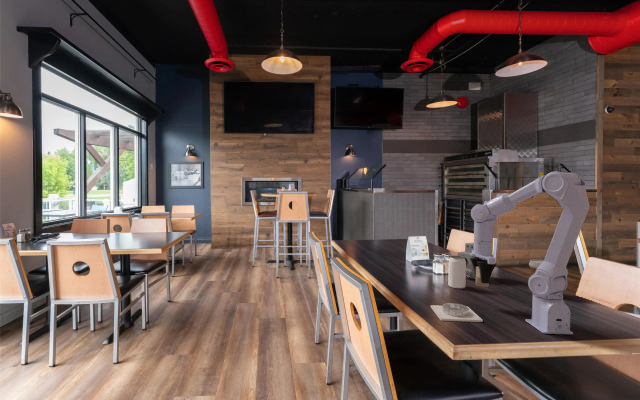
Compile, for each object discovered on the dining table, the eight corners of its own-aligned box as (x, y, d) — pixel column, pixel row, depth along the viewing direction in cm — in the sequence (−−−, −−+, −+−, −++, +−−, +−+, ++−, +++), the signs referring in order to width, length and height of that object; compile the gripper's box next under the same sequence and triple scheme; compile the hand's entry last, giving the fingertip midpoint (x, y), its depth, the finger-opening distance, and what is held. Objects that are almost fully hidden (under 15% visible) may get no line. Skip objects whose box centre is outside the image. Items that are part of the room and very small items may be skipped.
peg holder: (482, 322, 102) (482, 314, 102) (441, 320, 103) (441, 313, 103) (467, 308, 114) (467, 301, 114) (430, 307, 115) (430, 300, 115)
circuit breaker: (454, 277, 154) (455, 244, 154) (477, 274, 160) (478, 242, 160) (468, 281, 148) (468, 246, 147) (491, 278, 154) (492, 244, 153)
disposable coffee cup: (522, 290, 135) (522, 260, 134) (539, 288, 138) (540, 258, 138) (545, 298, 126) (546, 265, 125) (563, 295, 129) (564, 263, 129)
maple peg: (490, 287, 114) (491, 269, 114) (478, 286, 114) (478, 268, 114) (485, 283, 118) (486, 266, 118) (473, 283, 118) (474, 266, 118)
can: (466, 289, 136) (467, 258, 135) (449, 288, 137) (450, 258, 137) (463, 284, 142) (464, 255, 142) (446, 283, 143) (447, 255, 143)
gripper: (463, 237, 123) (462, 275, 124) (479, 243, 109) (478, 286, 109) (483, 237, 123) (482, 275, 123) (502, 244, 108) (501, 287, 109)
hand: (482, 281), depth 116 cm, fingers closed on maple peg, 4 cm apart
